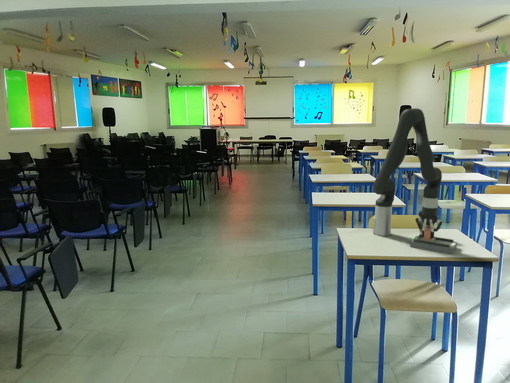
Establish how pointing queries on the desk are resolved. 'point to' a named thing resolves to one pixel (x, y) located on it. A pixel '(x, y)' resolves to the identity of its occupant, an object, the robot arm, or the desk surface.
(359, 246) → the desk surface
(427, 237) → the handle
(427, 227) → the coffee cup
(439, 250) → the switch box
